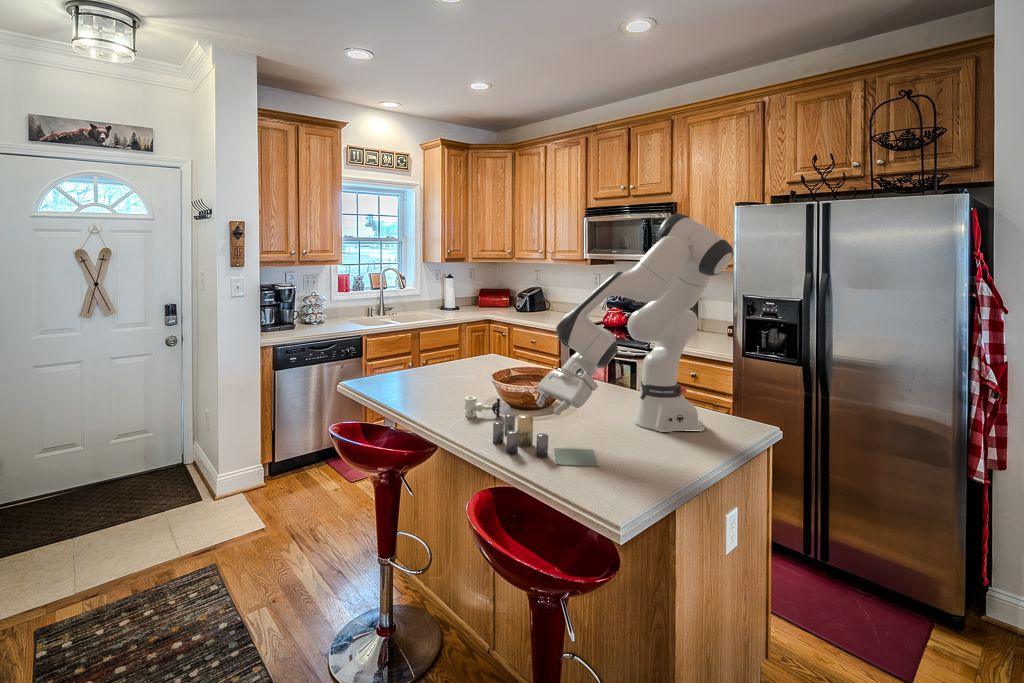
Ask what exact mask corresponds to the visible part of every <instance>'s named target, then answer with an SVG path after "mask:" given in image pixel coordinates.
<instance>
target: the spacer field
mask: <svg viewBox="0 0 1024 683" xmlns="http://www.w3.org/2000/svg"><path fill="white" fill-rule="evenodd" d="M505 436H506V443H505V444H506V447H505V448H506V451H505V453H506V454H507V455H509V454H510V456H514V455H515V454H516V455H518V454H517V453H518V450H519V446H518V432H517V430H516V414H513V413H506V414H504V422H503V421H501V420H499V421H498V420H497V421H494V422H493V423H492V444H493V445H497V444H500V445H503V444H504V439H505V438H504V437H505ZM535 447H536V449H535V450H536V451H535V452H536V453H535V457H536V456H537V457H536V458H538V457H539V458H538V459H547V458H548V454H549V434H547V433H544V432H543V433H537V434H536V446H535ZM516 455H515V456H516ZM546 457H547V458H546Z"/></svg>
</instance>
